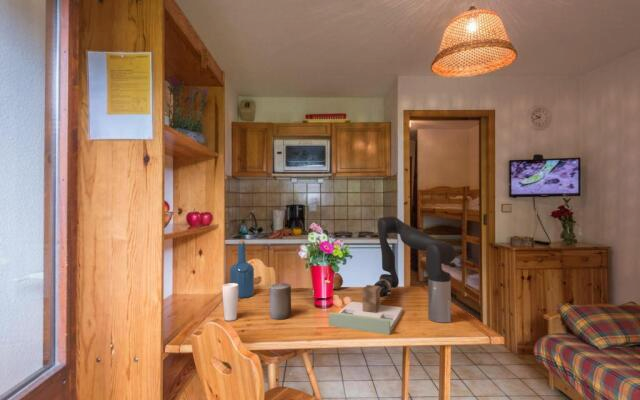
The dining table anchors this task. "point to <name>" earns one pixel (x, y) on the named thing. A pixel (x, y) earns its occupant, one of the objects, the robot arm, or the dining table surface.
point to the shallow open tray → (366, 318)
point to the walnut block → (371, 298)
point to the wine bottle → (242, 273)
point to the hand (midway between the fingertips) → (373, 296)
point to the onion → (337, 281)
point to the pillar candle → (280, 301)
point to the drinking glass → (230, 301)
